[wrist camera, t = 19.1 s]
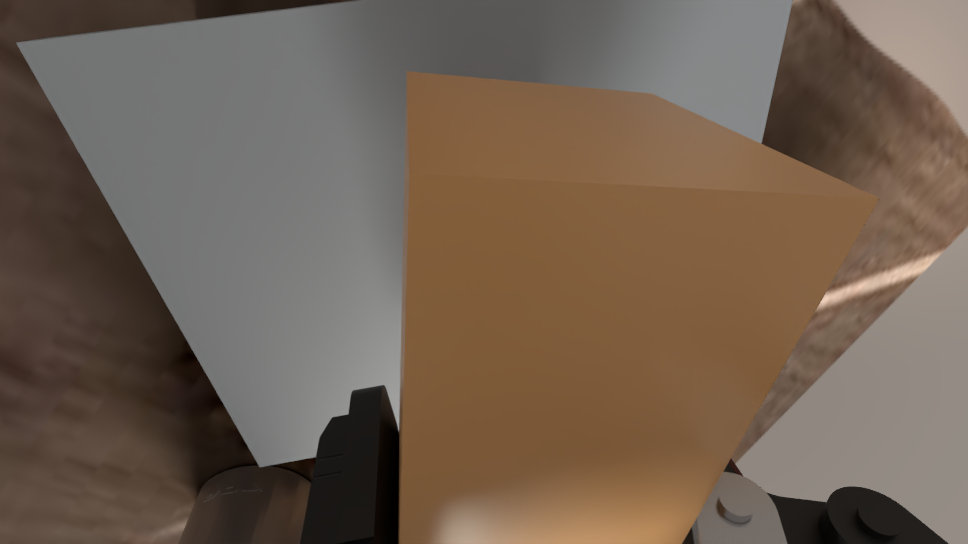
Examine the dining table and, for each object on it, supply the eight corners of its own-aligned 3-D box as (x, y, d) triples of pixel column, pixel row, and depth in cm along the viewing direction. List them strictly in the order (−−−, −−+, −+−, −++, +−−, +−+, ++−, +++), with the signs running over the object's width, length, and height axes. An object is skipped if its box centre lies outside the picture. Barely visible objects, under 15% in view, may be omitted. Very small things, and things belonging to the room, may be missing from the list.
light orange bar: (532, 527, 16) (578, 724, 12) (396, 538, 15) (394, 754, 11) (651, 93, 9) (879, 197, 5) (406, 70, 8) (409, 173, 4)
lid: (695, 365, 23) (709, 383, 22) (266, 444, 21) (259, 467, 20) (774, -51, 14) (804, -54, 13) (47, 37, 12) (15, 42, 11)
